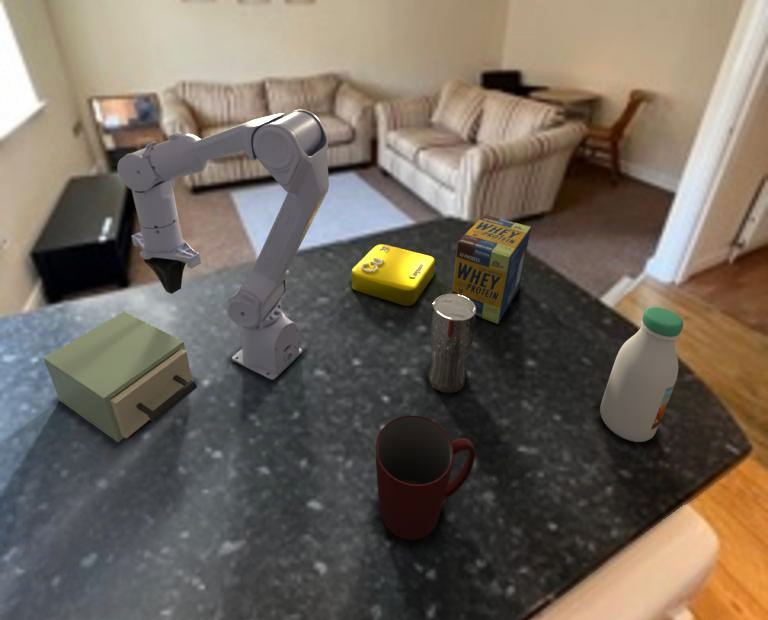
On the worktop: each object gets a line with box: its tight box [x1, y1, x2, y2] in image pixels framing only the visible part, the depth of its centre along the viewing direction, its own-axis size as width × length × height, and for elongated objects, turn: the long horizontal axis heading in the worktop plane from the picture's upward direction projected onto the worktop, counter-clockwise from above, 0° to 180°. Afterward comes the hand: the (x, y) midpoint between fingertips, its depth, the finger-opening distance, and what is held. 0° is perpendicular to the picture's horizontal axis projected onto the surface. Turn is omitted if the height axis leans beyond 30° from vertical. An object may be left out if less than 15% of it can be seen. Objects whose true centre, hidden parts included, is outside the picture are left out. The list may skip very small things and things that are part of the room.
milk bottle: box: [599, 306, 684, 443], centre depth 64 cm, size 8×8×20 cm
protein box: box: [451, 214, 532, 325], centre depth 93 cm, size 10×15×16 cm
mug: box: [375, 414, 476, 541], centre depth 54 cm, size 12×9×11 cm
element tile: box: [351, 243, 436, 307], centre depth 100 cm, size 15×15×5 cm
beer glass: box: [427, 293, 477, 394], centre depth 72 cm, size 7×7×15 cm
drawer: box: [110, 349, 198, 439], centre depth 67 cm, size 18×11×7 cm, turn 61°
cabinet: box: [42, 311, 186, 443], centre depth 69 cm, size 15×13×9 cm
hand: (173, 290), depth 78 cm, fingers closed
